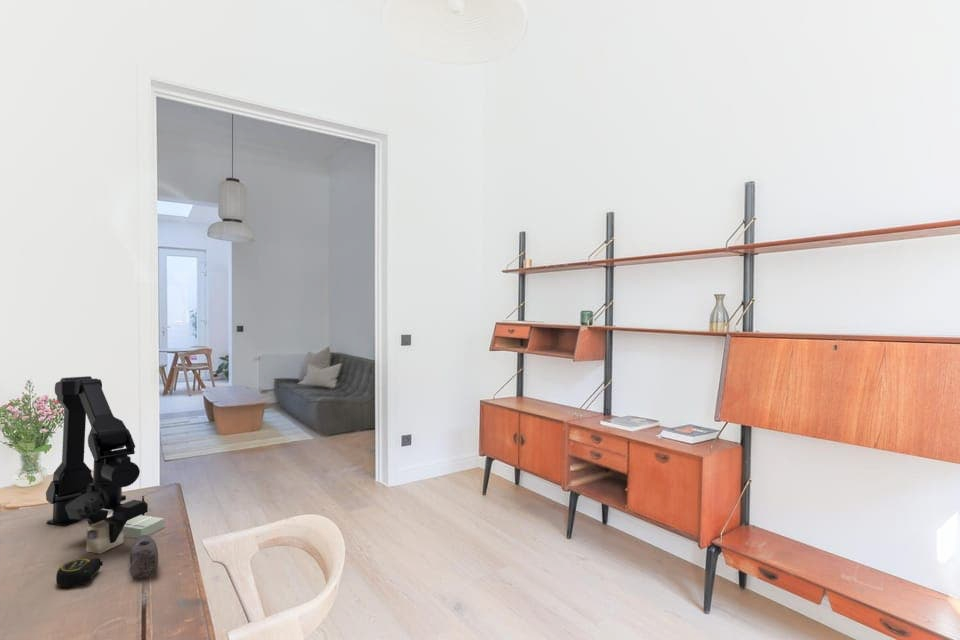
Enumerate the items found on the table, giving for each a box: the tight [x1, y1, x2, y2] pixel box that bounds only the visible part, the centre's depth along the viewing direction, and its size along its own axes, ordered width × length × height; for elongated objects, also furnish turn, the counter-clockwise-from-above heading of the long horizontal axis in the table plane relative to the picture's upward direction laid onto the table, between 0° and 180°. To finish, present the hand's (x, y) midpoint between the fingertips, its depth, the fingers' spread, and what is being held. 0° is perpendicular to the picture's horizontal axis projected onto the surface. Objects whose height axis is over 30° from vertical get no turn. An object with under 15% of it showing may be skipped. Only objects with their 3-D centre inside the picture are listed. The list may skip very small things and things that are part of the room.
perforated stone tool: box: [128, 535, 159, 579], centre depth 110 cm, size 15×5×7 cm, turn 36°
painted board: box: [107, 512, 165, 539], centre depth 129 cm, size 16×7×3 cm, turn 78°
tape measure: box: [55, 557, 104, 588], centre depth 104 cm, size 7×7×4 cm
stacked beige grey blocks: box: [86, 520, 125, 555], centre depth 119 cm, size 4×8×6 cm, turn 168°
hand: (105, 541), depth 119 cm, fingers closed on stacked beige grey blocks, 4 cm apart
